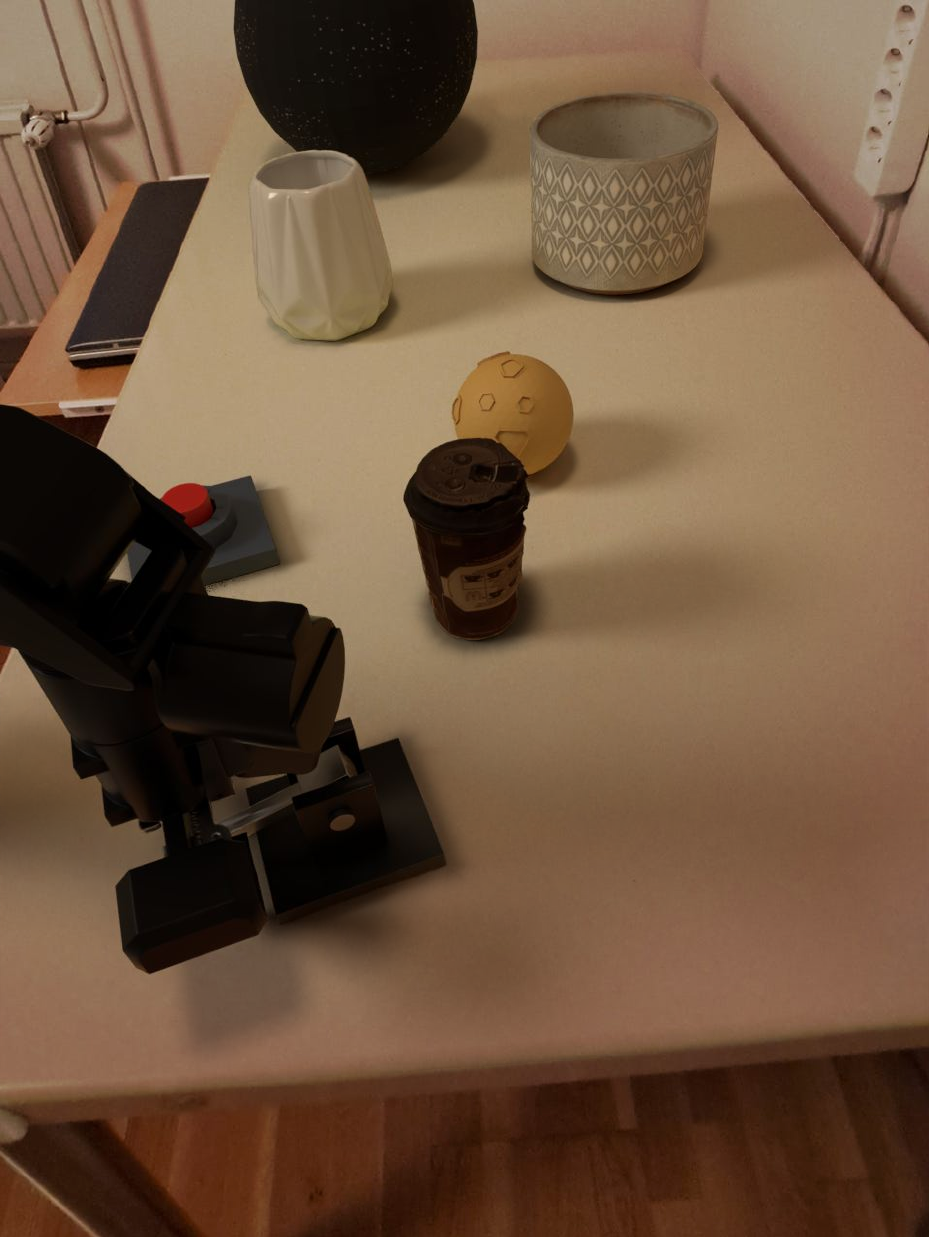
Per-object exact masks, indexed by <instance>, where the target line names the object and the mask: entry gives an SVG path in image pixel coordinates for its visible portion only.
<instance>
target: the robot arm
mask: <svg viewBox="0 0 929 1237" xmlns="http://www.w3.org/2000/svg"><path fill="white" fill-rule="evenodd" d="M185 519H186V517H185V516H183V515H182V514H180V513H179V512H178V511H176V510H175V509H173V508H172V507H170V506H169V505H167V504H166V503H164V502H163V501H161V500H160V498H159V497H157V496H155V495H154V494H153V493H152V492H151V491H149V490H148V489H147V488H146V487H145V486H144V485H142V484H141V483H140V482H139V481H138V480H137V479H135V478H134V477H133V476H132V475H131V474H130V473H128V471H126V470H125V469H124V467H123V466H122V465H121V464H120V463H119V462H118V461H116V460H115V459H114V458H112V456H110V455H109V454H108V453H106V452H104V451H103V450H101V449H100V448H98V447H96V446H95V445H93V444H91V443H90V442H88V441H86V440H84V439H82V438H80V437H78V436H76V435H74V434H72V433H70V432H69V431H67V430H64V429H63V428H61V427H59V426H57V425H55V424H53V423H51V422H49V421H48V420H45V419H44V418H41V417H40V416H38V415H36V414H34V413H32V412H30V411H29V410H26V409H24V408H22V407H19V406H15V405H10V404H2V403H0V647H7V648H12V649H15V650H16V651H17V652H18V653H19V655H20V656H21V658H22V660H23V661H24V662H25V664H26V666H27V667H28V669H29V671H30V672H31V674H32V675H33V677H34V678H35V680H36V682H37V683H38V685H39V687H40V688H41V690H42V692H43V694H45V697H46V698H47V699H48V701H49V703H50V704H51V706H52V707H53V710H54V711H55V713H56V714H57V716H58V717H59V719H60V721H61V722H62V724H63V725H64V727H65V729H66V731H67V732H68V734H69V736H70V748H71V750H70V751H71V759H72V769H73V770H74V771H75V773H76V774H77V776H78V778H79V779H80V781H82V780H85V779H89V778H91V777H96V778H97V781H98V782H99V783H100V787H101V796H102V804H103V805H102V806H103V815H104V818H105V819H106V821H107V822H108V824H109V825H110V827H111V828H114V827H117V826H119V825H123V824H125V823H130V822H131V821H135V820H137V823H138V828H139V830H140V832H141V833H142V834H149V833H152V832H155V831H157V830H159V829H160V828H162V831H163V838H164V844H165V845H163V846H161V850H162V855H161V857H162V858H158V859H157V860H154V861H150V862H149V863H145V864H141V865H139V866H136V867H133V868H130V869H128V870H127V871H125V873H124V875H123V876H122V877H121V879H120V880H119V881H118V882H117V883H116V884H115V895H116V896H115V898H116V906H117V914H118V915H117V916H118V923H119V932H120V941H121V949H122V953H124V955H125V956H126V957H127V959H128V960H129V961H130V962H131V964H132V965H133V966H134V968H135V969H137V970H140V971H142V972H144V973H145V974H148V975H152V974H154V973H157V972H160V971H163V970H166V969H168V968H171V967H174V966H177V965H179V964H183V963H185V962H188V961H190V960H194V959H196V958H199V957H202V956H204V955H208V954H210V953H212V952H215V951H218V950H220V949H223V948H226V947H229V946H233V945H235V944H237V943H241V942H243V941H245V940H249V939H251V938H254V937H257V936H259V935H260V934H261V932H262V930H263V929H264V927H265V925H266V924H267V922H268V920H269V919H268V914H267V910H266V906H265V902H264V898H263V893H262V889H261V885H260V880H259V877H258V872H257V868H256V866H255V862H254V858H253V852H252V849H251V844H250V840H249V836H247V832H244V833H241V834H238V835H236V836H233V837H232V835H231V833H230V831H229V829H228V828H227V827H226V826H225V825H222V824H218V823H215V820H214V814H213V813H214V812H213V805H212V803H214V802H217V801H220V800H223V799H227V798H229V797H232V796H235V795H236V791H235V787H234V783H233V779H232V777H236V778H241V779H251V778H252V779H253V778H262V777H270V776H271V777H272V776H279V775H281V776H282V775H286V774H289V773H293V774H294V775H302V774H307V773H310V772H312V771H313V770H314V769H315V768H316V767H317V765H318V761H319V757H320V753H321V749H322V745H323V744H324V743H325V741H326V739H327V737H328V736H329V734H330V732H331V730H332V727H333V725H334V722H335V721H336V718H337V715H338V713H339V709H340V704H341V699H342V695H343V690H344V689H343V688H344V682H345V675H346V674H345V672H346V648H345V640H344V635H343V632H342V629H341V627H336V624H335V623H334V621H333V620H332V619H330V618H328V617H327V616H322V615H321V616H320V615H313V614H310V611H309V608H308V607H307V606H306V605H304V604H303V603H298V602H290V601H282V600H266V601H265V600H264V601H263V600H262V601H256V600H250V599H249V600H248V599H242V598H241V599H240V598H234V597H224V596H218V595H210V594H209V593H208V591H207V588H206V585H204V582H203V580H202V575H203V574H204V572H205V570H206V569H207V567H208V565H209V564H210V562H211V560H212V559H213V557H214V555H215V554H216V552H215V549H214V547H213V546H212V545H211V544H209V543H208V542H207V541H206V540H205V539H204V538H202V537H201V536H200V535H199V534H198V533H197V532H195V531H194V530H193V529H192V528H191V527H190V526H189V525H187V524H186V523H185V522H184V520H185ZM134 542H137V543H139V544H140V545H142V546H144V547H146V548H148V549H150V550H151V553H150V554H149V556H148V557H147V559H146V560H145V562H144V563H143V565H142V566H141V568H140V569H139V571H138V572H137V574H136V575H135V577H134V578H133V580H132V579H131V581H130V582H129V581H128V580H125V579H119V578H112V575H113V574H114V573H115V571H116V569H117V568H118V566H119V565H120V564H121V563H122V561H123V560H124V558H125V557H126V555H127V552H128V551H129V549H130V548H131V546H132V545H133V543H134ZM190 810H191V811H190ZM189 811H190V814H191V816H193V817H192V818H191V820H192V822H193V823H194V824H192V826H193V828H194V829H196V830H194V831H193V832H194V834H195V836H191V830H190V825H189V819H188V814H187V812H189Z"/></svg>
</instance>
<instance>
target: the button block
mask: <svg viewBox="0 0 929 1237" xmlns="http://www.w3.org/2000/svg"><path fill="white" fill-rule="evenodd" d="M201 485H202V486H203V487H204V488H206V490H207V492H208V495H209V498H210V501H211V504H212V507H213V513H212V516H211V517H210V519H209V520H208V521H206V522H205V523H203V524H202V525H200V526H197V527H193V528H192V529H193V530H194V531H195V532H197V533H198V534H199V535H200V536H201V537H202V538H204V539H205V540H206V541H207V542H208V543H209V544H211V545H212V546H213V547H214V549H215V552H216V554H215V555H214V557H213V559H212V560H211V562H210V564H209V565H208V567H207V569H206V570H205V572H204V574H203V575H202V580H203V582H204V585H205V586H208V585H212V584H215V583H219V582H222V581H227V580H230V579H233V578H236V577H240V576H244V575H246V574H250V573H254V572H258V571H260V570H264V569H268V568H271V567H274V566H278V565H281V562H280V558H279V555H278V554H279V553H278V550H277V547H276V544H275V542H274V538H273V536H272V533H271V529H270V527H269V524H268V521H267V518H266V515H265V513H264V510H263V505H262V503H261V501H260V497H259V494H258V492H257V489H256V485H255V483H254V480H253V477H252V475H251V474H250V475H246V476H243V477H239V478H236V479H232V480H227V481H224V482H221V483H216V484H213V485H203V484H201ZM159 499H160V500H161V499H162V497H160V498H159ZM150 553H151V550H150V549H148V548H146V547H144V546H142V545H140V544H139V543H137V542H134V543H133V545H132V546H131V548H130V549H129V551H128V552H127V553H126V555H127V560H128V567H129V571H130V578H131V581H132V580H133V578H134V577H135V575H136V574H137V572H138V571H139V569H140V568H141V566H142V565H143V563H144V562H145V560H146V559H147V557H148V556H149V554H150Z"/></svg>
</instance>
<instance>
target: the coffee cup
mask: <svg viewBox="0 0 929 1237" xmlns="http://www.w3.org/2000/svg"><path fill="white" fill-rule="evenodd" d="M527 478H529V475H528V474H527V472H526V470H525V469H524V465H523V464H522V463H521V461H520V460H519V459H518V458H516V457H515V456H514V455H513V454H512V453H511V452H510V451H508V449H507V448H506V447H505V446H504V445H502V444H501V443H497V442H496V441H494V440H493V439H490V438H465V439H458V438H456V439H454V440H449V441H446V442H443V443H442V444H440V445H437V446H436V447H434V448H432V449H431V450H429V451H428V452H427V454H425V455H424V456H423V457H422V458H421V460H420V461H419V463H418V464H417V466H416V469H415V472H414V473H413V474H412V476H411V477H410V478H409V480H408V482H407V484H406V487H405V489H404V492H403V497H402V501H403V503H404V506H405V508H406V510H407V513H408V516H409V517H410V518H411V522H412V526H413V530H414V535H415V536H414V537H415V539H416V543H417V551H418V553H419V557H420V562H421V567H422V571H423V573H424V577H425V584H426V587H427V588H428V597H429V601H430V605H431V606H432V611H433V614H434V617H435V620H436V622H437V624H438V625H439V626H440V628H441V629H442V630H443V631H444V632H446V633H447V635H449V636H451V637H453V638H458V639H462V640H467V641H478V640H485V639H488V638H491V637H493V636H496V635H499V634H501V633H503V632H504V631H506V629H508V627H510V626H511V625H512V623H513V622H514V620H515V619H516V616H517V613H518V611H519V608H520V602H519V599H518V592H517V591H518V590H519V587H520V585H521V582H522V580H523V556H524V548H525V535H526V532H527V526H526V525H525V524H524V523H525V520H526V518H525V515H524V513H525V512H526V511H527V510H528V509H529V504H530V500H531V493H530V491H529V488H528V485H527V481H526V480H527Z"/></svg>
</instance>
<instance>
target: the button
mask: <svg viewBox="0 0 929 1237" xmlns="http://www.w3.org/2000/svg"><path fill="white" fill-rule="evenodd" d="M202 485H203V484H200V483H197V482H185V483H180V484H177V485H175V486H172V487H171V488H170V489H168V490H166V491H165V493H164V494H163V495H162V497H161V498H162V499H161V501H163V502H164V503H166V504H167V505H169V506H170V507H172V508H173V509H175V510H176V511H178V512H179V513H180V514H182V515H183V516H185V517H186V519H185V520H184V522H185V523H186V524H187V525H189V526H190V527H191V528H193V527H197V526H200V525H202V524H203V523H205V522H206V521H208V520H209V519H210V517H211V516H212V513H213V507H212V504H211V501H210V498H209V495H208V492H207V490H206V488H204V487H203V486H202Z"/></svg>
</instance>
